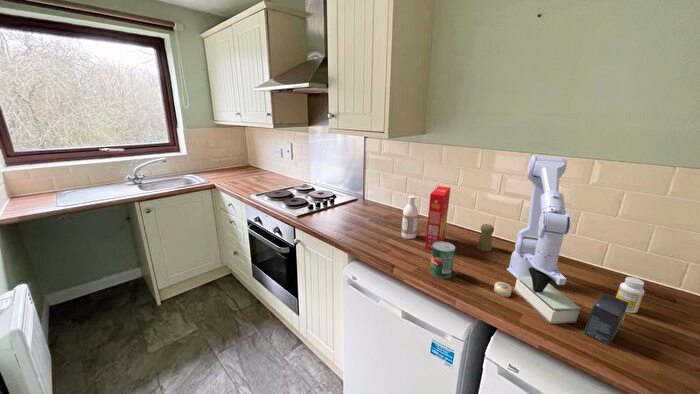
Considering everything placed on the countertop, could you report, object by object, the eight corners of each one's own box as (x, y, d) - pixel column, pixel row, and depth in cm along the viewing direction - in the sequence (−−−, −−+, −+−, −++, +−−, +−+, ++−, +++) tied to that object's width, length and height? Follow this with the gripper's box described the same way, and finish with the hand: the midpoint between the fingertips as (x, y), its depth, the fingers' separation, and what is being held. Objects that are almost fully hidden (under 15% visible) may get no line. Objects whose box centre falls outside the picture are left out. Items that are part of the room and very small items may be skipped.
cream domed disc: (490, 288, 97) (491, 281, 96) (504, 287, 97) (505, 281, 96) (499, 297, 92) (500, 290, 91) (513, 296, 92) (515, 290, 92)
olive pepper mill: (473, 246, 126) (477, 223, 123) (482, 244, 129) (486, 221, 126) (485, 252, 121) (489, 228, 118) (494, 249, 124) (498, 226, 120)
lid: (517, 277, 94) (517, 276, 94) (539, 277, 95) (540, 276, 95) (554, 309, 79) (555, 308, 79) (580, 309, 80) (581, 308, 80)
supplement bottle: (625, 301, 90) (634, 275, 88) (642, 313, 85) (653, 285, 82) (609, 302, 90) (617, 275, 87) (625, 313, 85) (635, 285, 82)
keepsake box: (514, 289, 96) (516, 279, 95) (536, 288, 96) (539, 278, 95) (550, 323, 81) (553, 311, 79) (576, 322, 81) (579, 310, 80)
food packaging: (437, 251, 122) (443, 195, 114) (425, 248, 124) (430, 193, 117) (444, 238, 134) (450, 187, 127) (433, 236, 136) (438, 186, 129)
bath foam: (398, 234, 137) (401, 195, 131) (410, 232, 140) (413, 193, 134) (407, 240, 131) (410, 199, 125) (419, 237, 134) (422, 197, 128)
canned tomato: (425, 271, 106) (428, 245, 103) (437, 264, 111) (440, 239, 108) (444, 281, 100) (447, 253, 97) (456, 273, 105) (459, 246, 102)
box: (609, 346, 73) (620, 316, 70) (583, 333, 77) (592, 304, 74) (619, 331, 78) (629, 302, 75) (594, 319, 83) (602, 291, 80)
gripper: (581, 264, 76) (569, 306, 80) (541, 240, 90) (533, 277, 94) (556, 264, 76) (545, 307, 80) (520, 241, 90) (513, 278, 93)
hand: (537, 291), depth 87 cm, fingers closed, pressing on lid
